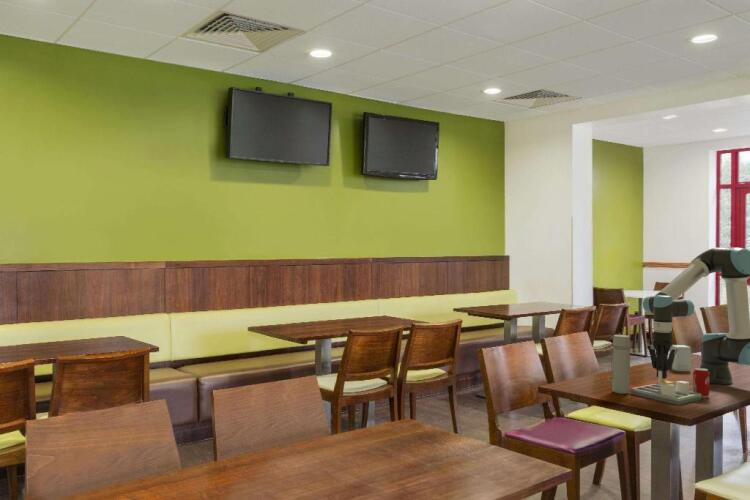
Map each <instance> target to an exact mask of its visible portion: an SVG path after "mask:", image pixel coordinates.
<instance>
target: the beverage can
mask: <svg viewBox="0 0 750 500" xmlns="http://www.w3.org/2000/svg"><path fill="white" fill-rule="evenodd" d="M692 392H695V393H700V394H701V399H707V398H708V397H710V383H709V372H708V369H705V368H700V367H695V368H694V370H693V371H692Z"/></svg>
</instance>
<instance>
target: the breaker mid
mask: <svg viewBox="0 0 750 500" xmlns="http://www.w3.org/2000/svg"><path fill="white" fill-rule="evenodd" d="M666 383H667V384H672V385H675V381H670V380H667V379H665V381H661V384H666ZM660 391H661V388H660Z"/></svg>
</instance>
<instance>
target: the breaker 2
mask: <svg viewBox="0 0 750 500" xmlns="http://www.w3.org/2000/svg"><path fill="white" fill-rule="evenodd" d="M690 384H691V383H690V382H689V381H686V380H685V381H684V380H677V381H675V385H676V386H675V388H676V392H681V393H686V394H689V392H690V389H691V388H690V386H691V385H690Z"/></svg>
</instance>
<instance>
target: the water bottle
mask: <svg viewBox="0 0 750 500" xmlns="http://www.w3.org/2000/svg"><path fill="white" fill-rule="evenodd" d="M609 358H610V361H609V362H608V366H610V362H611V370H612V372H611V378H609V377H607V379H608V381H612V382H611V383H612V384H611V385H612V386H611V388H612V389H611V391H613V393H616V394H619V395H620V394H621V395H626V394H629V393H630V390H631V388H630V377H631V376H630V374H631V373H630V371H631V338H630V336H629V335H626V334H614V335H613V339H612V346H610V356H609ZM609 371H610V368H608V370H607V373H609Z"/></svg>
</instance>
